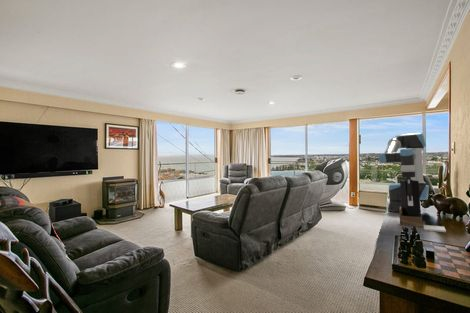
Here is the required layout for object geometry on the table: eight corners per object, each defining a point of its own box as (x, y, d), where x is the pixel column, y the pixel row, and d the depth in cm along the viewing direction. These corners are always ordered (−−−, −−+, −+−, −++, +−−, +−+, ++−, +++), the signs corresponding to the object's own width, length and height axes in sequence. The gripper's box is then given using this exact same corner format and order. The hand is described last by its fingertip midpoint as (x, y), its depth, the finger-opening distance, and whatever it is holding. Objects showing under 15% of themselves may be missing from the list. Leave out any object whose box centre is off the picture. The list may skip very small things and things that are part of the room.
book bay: (400, 220, 169) (399, 206, 170) (422, 222, 162) (420, 207, 163) (400, 224, 159) (399, 209, 160) (422, 226, 152) (421, 211, 153)
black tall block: (421, 218, 156) (418, 175, 157) (408, 218, 158) (404, 176, 159) (415, 215, 164) (411, 175, 165) (402, 215, 166) (399, 175, 167)
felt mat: (423, 226, 153) (423, 224, 153) (444, 228, 147) (444, 226, 147) (424, 230, 145) (424, 228, 145) (446, 232, 139) (446, 230, 139)
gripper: (401, 170, 173) (404, 201, 172) (400, 172, 155) (403, 206, 155) (414, 170, 169) (417, 201, 168) (415, 172, 151) (418, 207, 150)
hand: (410, 204), depth 161 cm, fingers closed on black tall block, 9 cm apart
